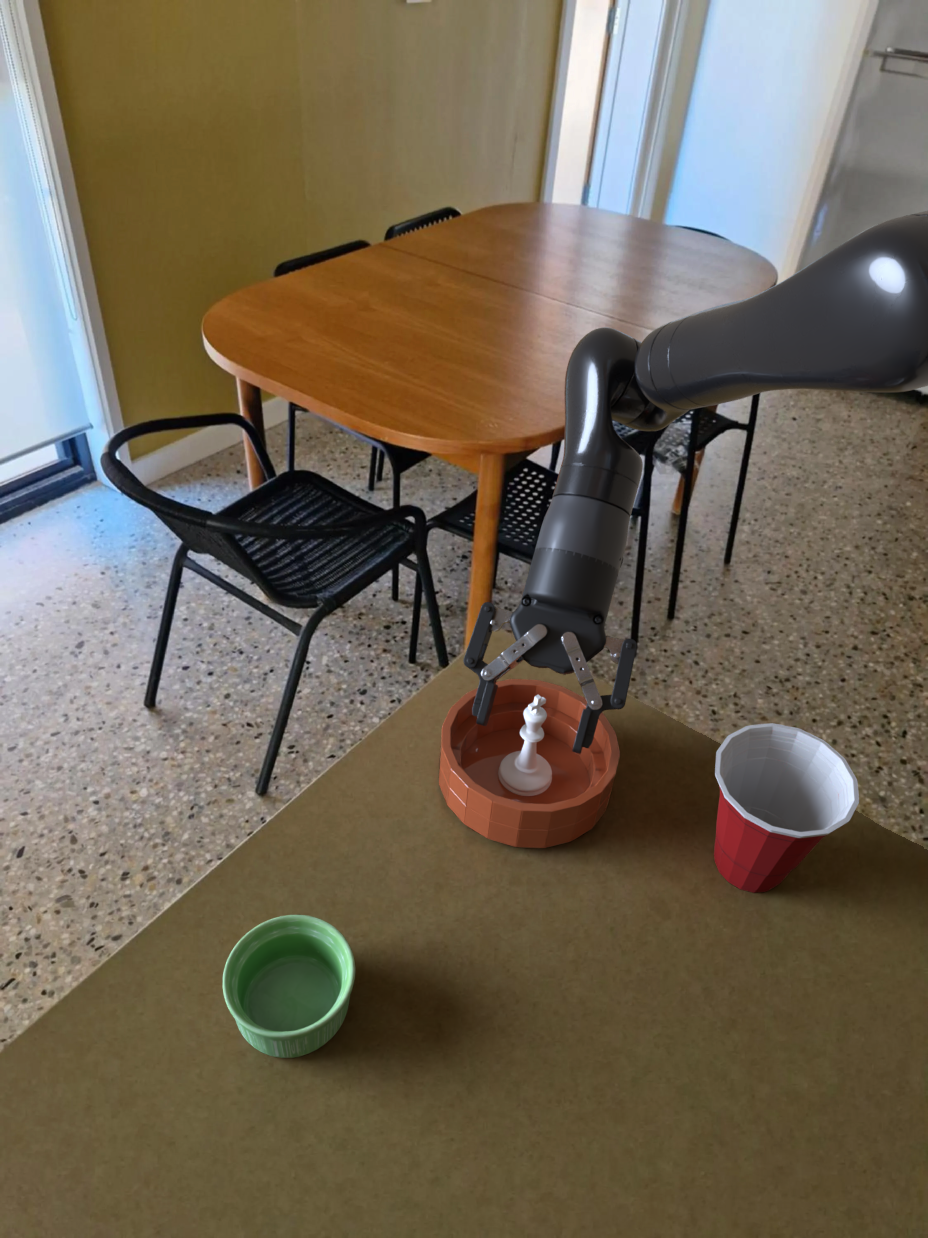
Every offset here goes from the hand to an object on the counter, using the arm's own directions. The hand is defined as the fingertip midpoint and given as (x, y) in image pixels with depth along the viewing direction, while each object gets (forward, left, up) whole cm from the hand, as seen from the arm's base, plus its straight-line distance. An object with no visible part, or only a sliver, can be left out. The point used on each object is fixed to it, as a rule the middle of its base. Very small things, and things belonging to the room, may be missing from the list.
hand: (528, 738), depth 76 cm
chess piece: (0, -2, -7) cm, 7 cm away
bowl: (0, -1, -7) cm, 7 cm away
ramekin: (+2, +27, -7) cm, 28 cm away
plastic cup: (-20, -5, -7) cm, 22 cm away
